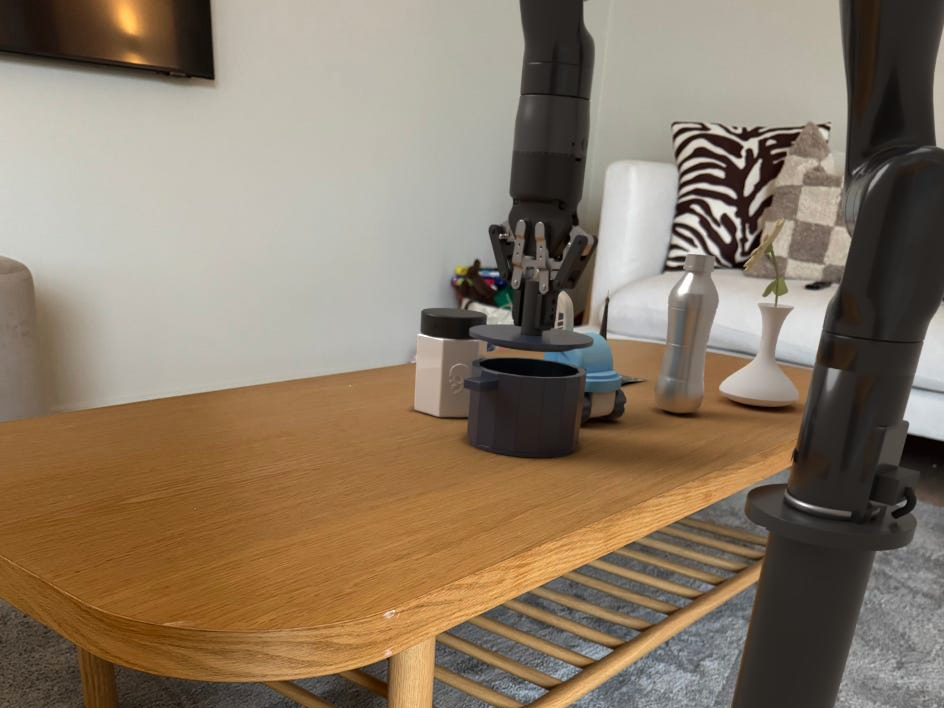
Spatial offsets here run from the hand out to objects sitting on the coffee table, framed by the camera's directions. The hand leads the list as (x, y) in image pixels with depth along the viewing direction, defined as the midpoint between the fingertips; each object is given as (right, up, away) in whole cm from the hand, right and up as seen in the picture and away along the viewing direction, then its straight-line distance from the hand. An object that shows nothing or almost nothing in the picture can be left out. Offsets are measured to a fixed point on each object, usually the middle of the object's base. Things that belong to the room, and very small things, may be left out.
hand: (532, 327), depth 104 cm
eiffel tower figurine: (+13, +6, +44) cm, 47 cm away
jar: (-9, -5, +18) cm, 21 cm away
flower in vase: (+35, 0, +36) cm, 50 cm away
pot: (-1, -11, +6) cm, 13 cm away
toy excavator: (+5, -4, +22) cm, 23 cm away
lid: (0, -1, +1) cm, 1 cm away
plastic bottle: (+22, -3, +27) cm, 35 cm away
